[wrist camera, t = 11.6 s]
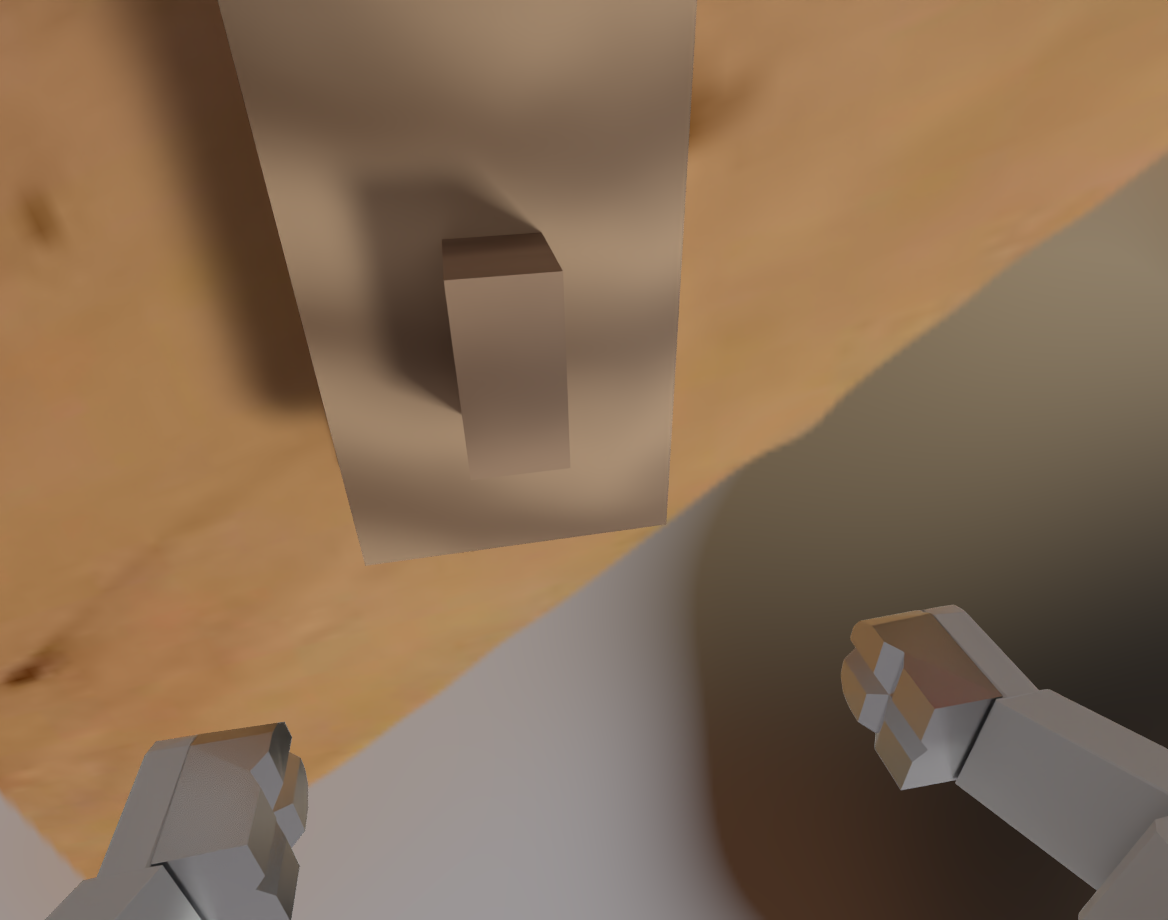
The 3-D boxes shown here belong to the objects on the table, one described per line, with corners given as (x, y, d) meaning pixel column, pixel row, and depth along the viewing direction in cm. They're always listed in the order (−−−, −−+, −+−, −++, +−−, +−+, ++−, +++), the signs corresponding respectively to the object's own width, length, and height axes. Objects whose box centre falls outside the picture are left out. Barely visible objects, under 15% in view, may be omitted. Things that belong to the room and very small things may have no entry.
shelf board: (232, -2, 17) (160, -14, 13) (680, -9, 19) (758, -22, 14) (368, 541, 27) (355, 644, 22) (655, 503, 29) (698, 591, 24)
